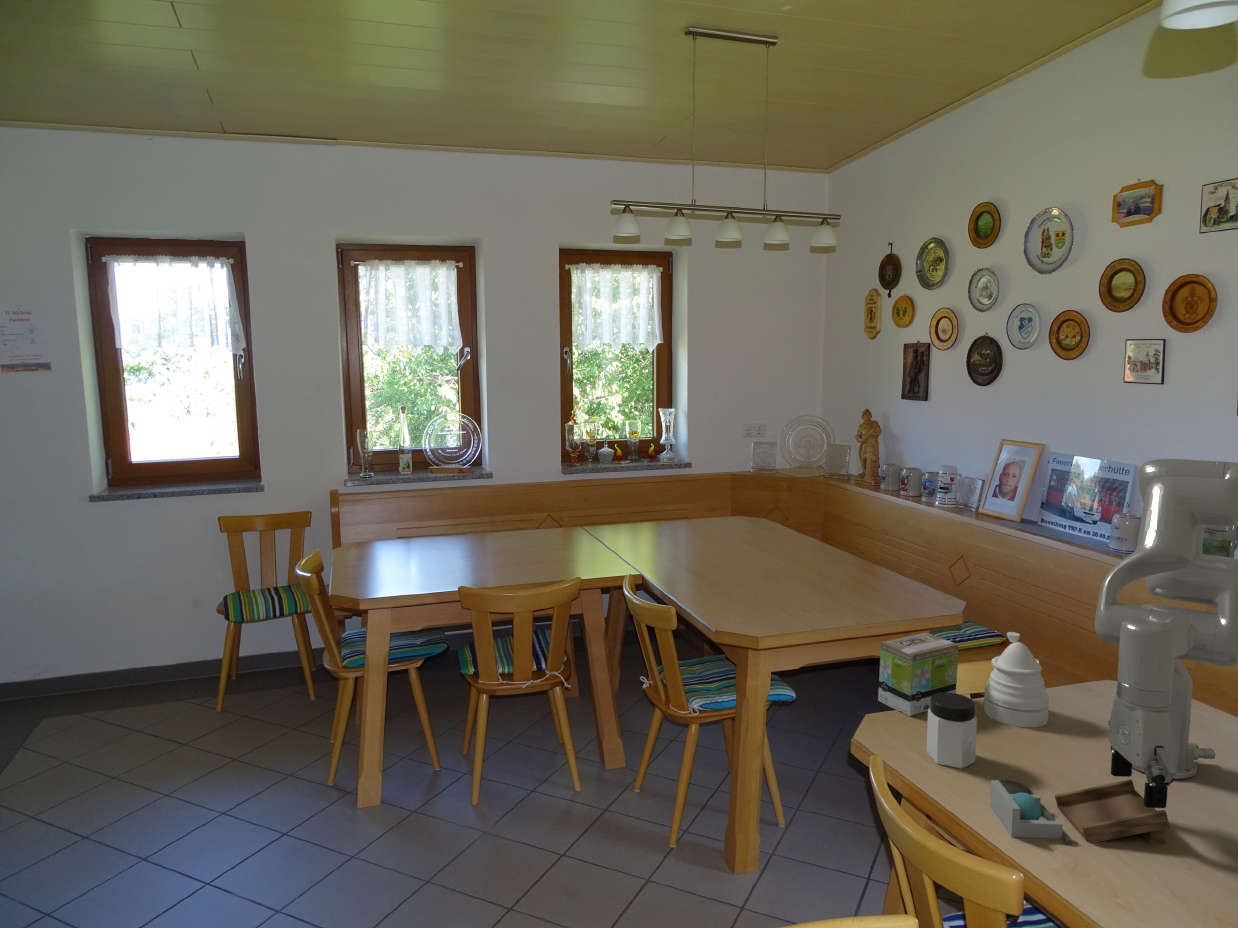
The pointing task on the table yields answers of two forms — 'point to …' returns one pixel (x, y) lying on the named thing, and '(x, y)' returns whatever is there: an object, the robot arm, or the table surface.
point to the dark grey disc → (1015, 787)
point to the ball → (1027, 806)
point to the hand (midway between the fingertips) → (1137, 790)
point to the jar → (951, 730)
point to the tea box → (916, 671)
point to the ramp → (1112, 813)
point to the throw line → (1050, 818)
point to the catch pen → (1011, 816)
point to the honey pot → (1016, 688)
